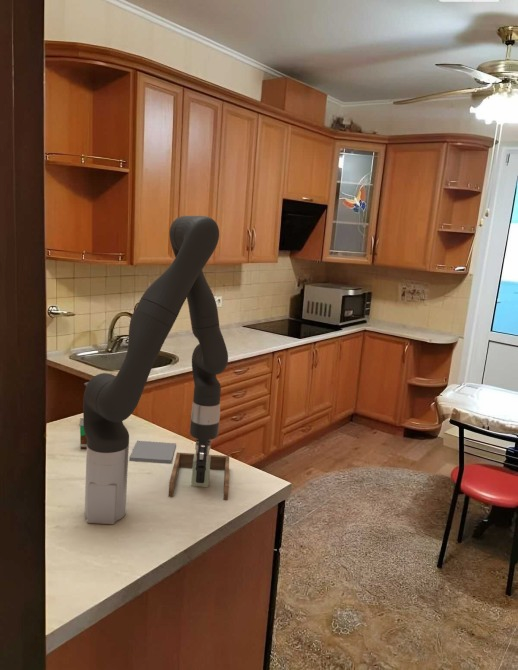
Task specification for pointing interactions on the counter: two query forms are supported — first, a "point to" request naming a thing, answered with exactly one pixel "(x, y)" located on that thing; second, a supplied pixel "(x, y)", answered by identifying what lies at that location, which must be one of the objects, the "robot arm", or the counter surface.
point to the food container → (82, 435)
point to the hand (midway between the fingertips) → (200, 477)
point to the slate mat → (153, 452)
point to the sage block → (205, 473)
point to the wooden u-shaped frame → (187, 462)
